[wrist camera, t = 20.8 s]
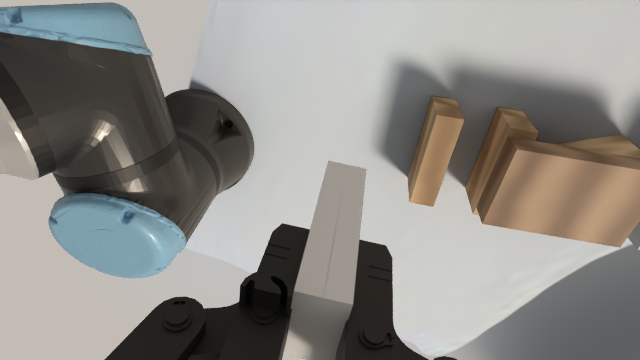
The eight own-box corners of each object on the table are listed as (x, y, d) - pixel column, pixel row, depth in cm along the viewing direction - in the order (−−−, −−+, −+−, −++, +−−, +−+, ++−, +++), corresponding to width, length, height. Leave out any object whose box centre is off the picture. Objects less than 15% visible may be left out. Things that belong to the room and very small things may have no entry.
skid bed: (407, 177, 54) (409, 202, 49) (431, 95, 47) (436, 114, 42) (487, 191, 53) (497, 218, 48) (522, 111, 47) (538, 132, 42)
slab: (476, 208, 48) (482, 223, 45) (508, 136, 42) (517, 149, 40) (606, 230, 47) (619, 247, 45) (656, 161, 42) (674, 175, 39)
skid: (513, 182, 52) (526, 208, 47) (512, 150, 50) (526, 173, 45) (616, 168, 49) (641, 194, 44) (620, 133, 47) (647, 156, 42)
